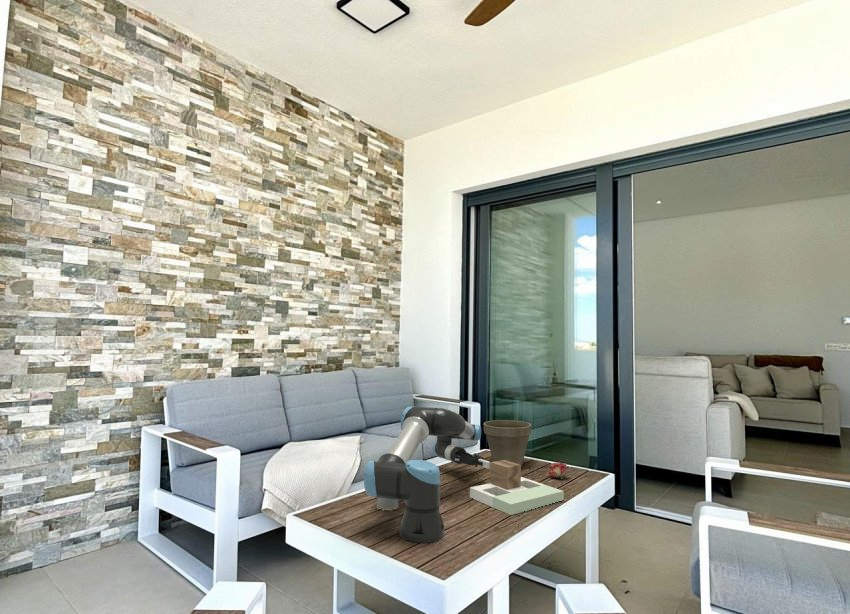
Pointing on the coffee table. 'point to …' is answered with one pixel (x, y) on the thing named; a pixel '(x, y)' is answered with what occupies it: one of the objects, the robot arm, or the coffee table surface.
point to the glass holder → (387, 503)
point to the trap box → (517, 496)
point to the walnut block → (505, 474)
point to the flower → (558, 470)
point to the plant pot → (507, 439)
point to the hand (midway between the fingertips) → (489, 465)
